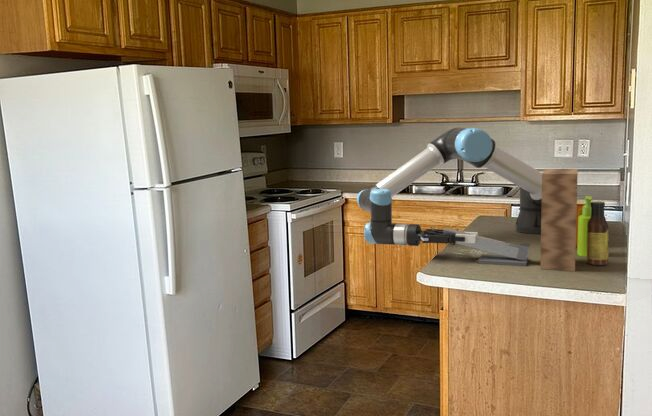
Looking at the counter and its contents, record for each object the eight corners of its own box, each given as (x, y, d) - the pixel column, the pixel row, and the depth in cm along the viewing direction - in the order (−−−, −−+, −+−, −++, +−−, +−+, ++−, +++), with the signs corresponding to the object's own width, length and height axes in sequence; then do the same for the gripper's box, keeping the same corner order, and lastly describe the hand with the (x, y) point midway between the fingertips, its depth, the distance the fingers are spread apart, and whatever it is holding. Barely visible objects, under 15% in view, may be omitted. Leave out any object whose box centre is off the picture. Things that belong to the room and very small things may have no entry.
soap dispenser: (577, 257, 202) (578, 197, 199) (577, 252, 208) (578, 194, 205) (596, 258, 200) (598, 198, 197) (595, 253, 206) (597, 195, 203)
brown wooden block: (540, 269, 189) (542, 173, 185) (542, 258, 202) (544, 168, 197) (575, 271, 186) (577, 173, 181) (575, 260, 198) (577, 168, 194)
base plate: (478, 263, 199) (478, 260, 199) (482, 256, 207) (482, 254, 207) (526, 266, 193) (526, 263, 193) (528, 259, 202) (528, 256, 201)
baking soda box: (572, 241, 224) (573, 198, 222) (591, 242, 222) (592, 199, 220) (573, 247, 216) (574, 203, 213) (593, 248, 213) (594, 203, 211)
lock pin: (441, 240, 205) (443, 226, 204) (444, 237, 209) (446, 223, 208) (525, 261, 195) (529, 247, 194) (527, 258, 200) (530, 244, 198)
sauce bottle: (612, 265, 190) (614, 202, 187) (594, 267, 189) (596, 204, 186) (599, 260, 197) (601, 200, 194) (582, 262, 196) (583, 201, 193)
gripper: (414, 240, 220) (480, 243, 211) (401, 250, 204) (472, 254, 195) (414, 219, 218) (480, 222, 209) (401, 228, 203) (472, 231, 194)
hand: (476, 237), depth 203 cm, fingers closed on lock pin, 4 cm apart
